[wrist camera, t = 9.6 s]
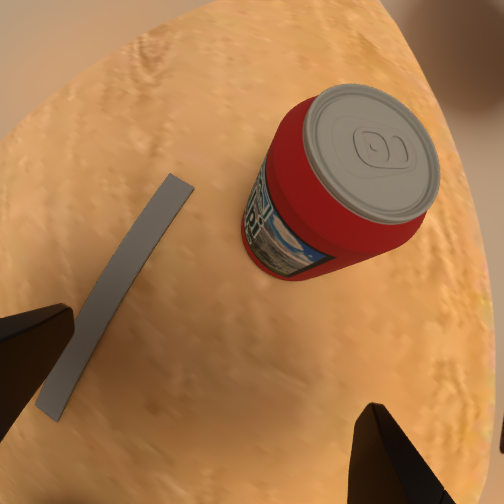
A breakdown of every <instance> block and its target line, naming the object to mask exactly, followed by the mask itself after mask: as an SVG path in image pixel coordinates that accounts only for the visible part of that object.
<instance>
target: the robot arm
mask: <svg viewBox="0 0 504 504" xmlns="http://www.w3.org/2000/svg"><path fill="white" fill-rule="evenodd" d="M74 332H75V324H74V315H73V310H72V308H71V307H69V306H67V305H65V304H62V303H59V304H55V305H51V306H47V307H43V308H39V309H35V310H32V311H28V312H24V313H20V314H16V315H12V316H8V317H4V318H0V443H1V441H2V440H3V438H4V437H5V435H6V434H7V432H8V431H9V429H10V428H11V426H12V425H13V423H14V422H15V420H16V419H17V418H18V416H19V415H20V413H21V412H22V410H23V409H24V408H25V406H26V405H27V403H28V402H29V401H30V399H31V398H32V396H33V395H34V394H35V392H36V391H37V390H38V388H39V387H40V386H41V384H42V383H43V382H44V380H45V379H46V378H47V376H48V375H49V373H50V372H51V371H52V369H53V368H54V366H55V364H56V363H57V361H58V360H59V358H60V356H61V355H62V353H63V351H64V350H65V348H66V347H67V345H68V343H69V342H70V340H71V339H72V337H73V335H74ZM347 504H456V503H455V502H454V501H453V499H452V498H451V497H450V495H449V494H448V492H447V491H446V490H444V487H443V486H442V484H441V483H440V481H439V480H438V479H437V477H436V476H435V474H434V473H433V472H432V470H431V469H430V467H429V466H428V465H427V463H426V462H425V461H424V459H423V458H422V456H421V455H420V454H419V452H418V451H417V450H416V448H415V447H414V445H413V444H412V443H411V441H410V440H409V439H408V437H407V436H406V435H405V433H404V432H403V430H402V429H401V428H400V426H399V425H398V424H397V422H396V421H395V420H394V418H393V417H392V415H391V414H390V413H389V411H388V410H387V409H386V407H385V406H384V405H383V404H379V403H373V402H371V403H369V404H368V405H367V406H366V407H365V409H364V410H363V412H362V413H361V414H360V416H359V417H358V419H357V420H356V423H355V426H354V435H353V443H352V450H351V457H350V464H349V475H348V497H347Z"/></svg>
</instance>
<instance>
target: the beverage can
mask: <svg viewBox="0 0 504 504" xmlns="http://www.w3.org/2000/svg"><path fill="white" fill-rule="evenodd" d="M439 185H440V165H439V160H438V155H437V152H436V149H435V146H434V144H433V142H432V140H431V138H430V136H429V134H428V132H427V131H426V129H425V128H424V126H423V125H422V123H421V122H420V121H419V120H418V118H417V117H416V116H415V115H414V114H413V113H412V112H411V111H410V110H409V109H408V108H407V107H406V106H405V105H403V104H402V103H401V102H400V101H398V100H397V99H395V98H394V97H392V96H390V95H389V94H387V93H385V92H383V91H381V90H378V89H376V88H373V87H369V86H366V85H360V84H341V85H337V86H334V87H331V88H329V89H327V90H325V91H323V92H322V93H321V94H320V95H318V96H315V97H312V98H309V99H307V100H305V101H303V102H301V103H300V104H298V105H297V106H295V107H294V108H293V109H291V110H290V111H289V112H288V113H287V114H286V116H285V117H284V118H283V120H282V121H281V123H280V125H279V127H278V129H277V132H276V134H275V136H274V138H273V141H272V143H271V145H270V148H269V150H268V152H267V154H266V157H265V159H264V161H263V164H262V166H261V169H260V171H259V174H258V176H257V178H256V181H255V183H254V186H253V189H252V191H251V194H250V196H249V199H248V202H247V205H246V208H245V210H244V213H243V217H242V225H241V230H242V238H243V242H244V245H245V247H246V250H247V252H248V254H249V255H250V257H251V258H252V260H253V261H254V262H255V263H256V264H257V265H258V266H259V267H260V268H261V269H262V270H264V271H265V272H266V273H268V274H270V275H272V276H274V277H276V278H279V279H282V280H287V281H302V280H307V279H311V278H314V277H317V276H321V275H324V274H327V273H330V272H333V271H336V270H339V269H342V268H345V267H348V266H350V265H353V264H356V263H359V262H362V261H364V260H367V259H370V258H372V257H375V256H377V255H380V254H383V253H385V252H388V251H390V250H393V249H395V248H397V247H399V246H401V245H403V244H404V243H406V242H407V241H408V240H409V239H410V238H411V237H412V236H413V235H414V234H415V233H416V231H417V230H418V229H419V227H420V226H421V224H422V222H423V220H424V218H425V215H426V213H427V210H428V209H429V208H430V206H431V205H432V204H433V202H434V200H435V198H436V196H437V194H438V190H439Z"/></svg>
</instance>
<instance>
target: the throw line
mask: <svg viewBox="0 0 504 504" xmlns="http://www.w3.org/2000/svg"><path fill="white" fill-rule="evenodd" d="M193 190H194V187H193V186H191V185H189V184H188V183H186V182H184V181H182V180H181V179H179V178H177V177H176V176H174V175H172V174H169V175H168V176H167V178H166V179H165V180H164V182H163V183H162V184H161V186H160V187H159V188H158V190H157V191H156V193H155V194H154V195H153V197H152V198H151V200H150V201H149V202H148V204H147V205H146V207H145V208H144V210H143V211H142V212H141V214H140V215H139V217H138V218H137V220H136V221H135V223H134V224H133V226H132V227H131V229H130V230H129V232H128V233H127V235H126V236H125V238H124V239H123V241H122V242H121V244H120V246H119V247H118V249H117V250H116V252H115V253H114V255H113V257H112V258H111V260H110V261H109V263H108V265H107V266H106V268H105V270H104V271H103V273H102V274H101V276H100V278H99V280H98V281H97V283H96V285H95V286H94V288H93V290H92V291H91V293H90V295H89V297H88V298H87V300H86V302H85V304H84V306H83V307H82V309H81V311H80V313H79V315H78V316H77V318H76V320H75V322H74V324H75V332H74V335H73V337H72V339H71V340H70V342H69V343H68V345H67V347H66V348H65V350H64V351H63V353H62V355H61V356H60V358H59V360H58V361H57V363H56V364H55V366H54V368H53V369H52V371H51V372H50V373H49V375H48V376H47V379H46V381H45V383H44V385H43V387H42V390H41V392H40V394H39V397H38V399H37V401H36V404H35V405H36V406H37V407H38V408H39V409H41V410H42V411H43V412H44V413H45V414H47V415H48V416H49V417H50V418H52V419H53V420H54V421H55V422H58V421H59V419H60V417H61V415H62V413H63V410H64V408H65V406H66V404H67V402H68V400H69V398H70V396H71V394H72V392H73V390H74V388H75V386H76V384H77V382H78V380H79V378H80V376H81V374H82V372H83V370H84V368H85V366H86V364H87V362H88V360H89V359H90V357H91V355H92V353H93V351H94V349H95V347H96V345H97V344H98V342H99V340H100V338H101V336H102V335H103V333H104V331H105V329H106V327H107V326H108V324H109V322H110V320H111V319H112V317H113V315H114V313H115V312H116V310H117V308H118V306H119V305H120V303H121V301H122V300H123V298H124V296H125V295H126V293H127V291H128V290H129V288H130V286H131V285H132V283H133V281H134V280H135V278H136V276H137V275H138V273H139V272H140V270H141V268H142V267H143V265H144V264H145V262H146V260H147V259H148V257H149V256H150V254H151V253H152V251H153V249H154V248H155V246H156V245H157V243H158V242H159V240H160V239H161V237H162V236H163V234H164V233H165V231H166V230H167V228H168V227H169V225H170V224H171V222H172V221H173V219H174V218H175V216H176V215H177V213H178V212H179V210H180V209H181V207H182V206H183V205H184V203H185V202H186V200H187V199H188V197H189V196H190V194H191V193H192V192H193Z"/></svg>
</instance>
